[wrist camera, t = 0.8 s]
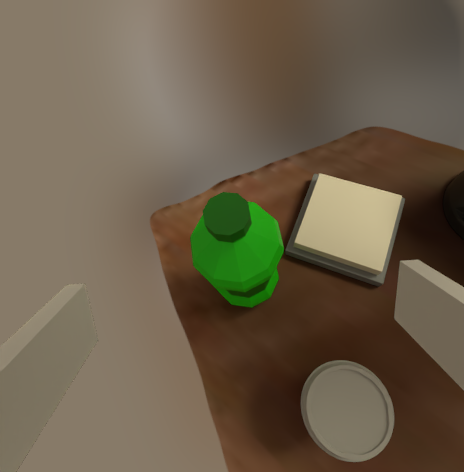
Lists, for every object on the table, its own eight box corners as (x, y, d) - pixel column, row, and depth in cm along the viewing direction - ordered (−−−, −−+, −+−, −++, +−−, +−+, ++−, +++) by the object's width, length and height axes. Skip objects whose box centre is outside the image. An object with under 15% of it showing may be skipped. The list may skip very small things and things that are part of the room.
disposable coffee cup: (347, 351, 45) (371, 348, 34) (378, 424, 41) (417, 448, 30) (284, 371, 45) (288, 375, 34) (310, 447, 41) (323, 479, 30)
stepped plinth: (400, 204, 52) (410, 192, 48) (378, 286, 47) (387, 280, 44) (312, 179, 56) (315, 166, 52) (285, 254, 51) (285, 246, 48)
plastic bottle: (249, 326, 48) (227, 295, 25) (203, 280, 51) (147, 215, 28) (293, 280, 49) (310, 210, 26) (246, 238, 53) (225, 145, 30)
